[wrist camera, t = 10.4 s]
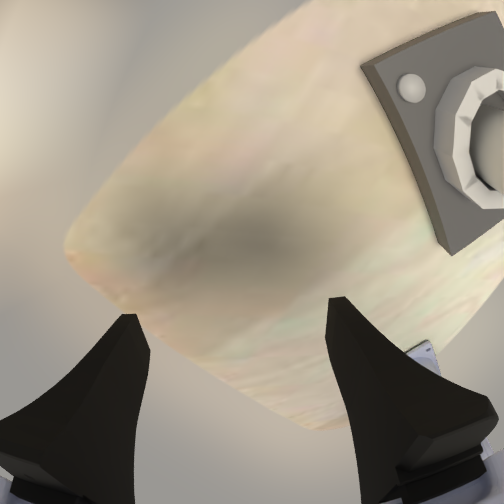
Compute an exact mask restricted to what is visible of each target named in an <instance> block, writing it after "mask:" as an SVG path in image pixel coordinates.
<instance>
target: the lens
mask: <svg viewBox="0 0 504 504" xmlns="http://www.w3.org/2000/svg"><path fill="white" fill-rule="evenodd" d="M469 154H470V158H471V161H472V164H473V168H474V172H475V175H476V177H478V178H479V179H481V180H482V181H484V182H485V183H487V184H489V185H490V186H492V187H493V188H494V189H496V190H497V191H499V192H500V193H502V194H503V195H504V111H503V110H500V109H497V108H494V107H491V106H486V105H483V106H479V108H478V110H477V112H476V114H475V116H474V118H473V120H472V122H471V134H470V145H469Z"/></svg>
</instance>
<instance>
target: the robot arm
mask: <svg viewBox="0 0 504 504" xmlns="http://www.w3.org/2000/svg"><path fill="white" fill-rule="evenodd" d="M325 340H326V344H327V349H328V354H329V358H330V362H331V365H332V368H333V371H334V374H335V377H336V380H337V383H338V386H339V389H340V392H341V394H342V397H343V400H344V403H345V406H346V410H347V413H348V417H349V421H350V426H351V431H352V436H353V441H354V447H355V453H356V460H357V467H358V474H359V482H360V492H361V503H362V504H504V448H503V449H502V450H500V451H498V452H496V453H494V452H493V449H492V447H491V445H490V443H489V441H488V439H487V436H488V435H489V434H490V432H491V431H492V430H493V429H494V428H495V426H496V425H497V422H498V420H499V418H498V415H497V413H496V411H495V409H494V407H493V405H492V404H491V402H490V400H489V399H488V397H487V396H484V395H482V394H479V393H476V392H474V391H471V390H468V389H466V388H463V387H461V386H459V385H457V384H455V383H452V382H451V381H448V380H447V379H444V378H443V377H441V373H440V370H439V366H438V363H437V360H436V357H435V353H434V350H433V347H432V344H431V342H430V341H426V342H424V343H423V344H421V345H419V346H418V347H416V348H414V349H413V350H411V351H409V352H407V353H406V354H405V353H404V352H403V351H401V350H400V349H399V348H398V347H396V346H395V345H394V344H393V343H392V342H391V341H389V340H388V339H387V338H386V337H385V336H384V335H383V334H382V333H381V332H379V331H378V330H377V329H376V328H375V327H374V326H373V325H372V324H371V323H370V322H369V321H368V320H367V319H366V318H365V317H364V316H363V315H362V314H361V313H360V312H359V311H358V310H357V309H356V308H355V306H354V305H353V304H352V303H351V302H350V301H349V300H348V299H347V298H346V297H345V296H344V297H336V298H329V302H328V313H327V324H326V334H325ZM149 361H150V348H149V346H148V343H147V341H146V338H145V336H144V333H143V331H142V328H141V325H140V323H139V320H138V317H137V315H136V314H122V315H121V316H120V317H119V318H118V319H117V320H116V321H115V322H114V324H113V325H112V326H111V327H110V328H109V329H108V331H107V332H106V333H105V334H104V335H103V336H102V338H101V339H100V340H99V341H98V342H97V343H96V344H95V346H94V347H93V348H92V349H91V350H90V351H89V352H88V353H87V354H86V356H85V357H84V358H83V359H82V360H81V361H80V362H79V363H78V364H77V365H76V366H75V367H74V368H73V369H72V370H71V371H70V372H69V373H68V374H67V375H66V376H65V377H64V378H63V379H61V380H60V381H59V382H58V383H57V384H56V385H55V386H53V387H52V388H51V389H49V390H48V391H47V392H46V393H44V394H43V395H42V396H40V397H39V398H38V399H36V400H35V401H33V402H32V403H30V404H29V405H27V406H26V407H24V408H22V409H21V410H19V411H17V412H16V413H14V414H12V415H10V416H8V417H6V418H4V419H2V420H0V466H1V467H2V468H4V469H5V470H6V471H8V472H9V473H10V474H11V475H13V476H14V478H13V481H12V482H11V481H10V480H8V479H6V478H4V477H1V476H0V504H135V496H134V449H135V435H136V427H137V421H138V416H139V411H140V407H141V403H142V398H143V394H144V390H145V385H146V381H147V376H148V371H149V370H148V369H149Z"/></svg>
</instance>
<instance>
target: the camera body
mask: <svg viewBox="0 0 504 504" xmlns="http://www.w3.org/2000/svg"><path fill="white" fill-rule="evenodd" d="M361 68H362V70H363V71H364V73H365V75H366V77H367V78H368V80H369V82H370V84H371V86H372V87H373V89H374V91H375V93H376V95H377V97H378V98H379V100H380V102H381V104H382V106H383V108H384V110H385V112H386V114H387V116H388V118H389V120H390V122H391V124H392V126H393V128H394V130H395V132H396V135H397V137H398V139H399V141H400V143H401V145H402V148H403V150H404V152H405V154H406V157H407V159H408V161H409V164H410V166H411V168H412V171H413V173H414V176H415V178H416V181H417V183H418V186H419V188H420V191H421V194H422V196H423V199H424V202H425V204H426V207H427V210H428V213H429V216H430V219H431V221H432V224H433V227H434V230H435V234H436V237H437V240H438V243H439V244H440V245H441V246H442V247H443V248H444V249H445V250H446V251H447V252H448V253H449V254H450V255H451V256H453V255H454V254H456V253H457V252H459V251H460V250H462V249H463V248H465V247H466V246H467V245H469V244H470V243H472V242H473V241H474V240H476V239H477V238H478V237H480V236H481V235H483V234H484V233H485V232H487V231H488V230H489V229H491V228H492V227H493V226H495V225H496V224H497V223H499V222H500V221H501V220H502V219H504V195H503V194H502V193H500V192H499V191H497V190H496V189H494V188H493V187H492V186H490V185H489V184H487V183H485V182H484V181H482V180H481V179H479V178H478V177H476V175H475V172H474V168H473V164H472V161H471V158H470V154H469V145H470V134H471V122H472V120H473V118H474V116H475V114H476V112H477V110H478V108H479V106H483V105H486V106H491V107H494V108H497V109H500V110H503V111H504V28H503V26H502V24H501V22H500V19H499V17H498V15H497V13H496V11H491V12H480V13H476V14H473V15H470V16H468V17H465V18H463V19H460V20H457V21H455V22H452V23H450V24H448V25H445V26H443V27H440V28H438V29H436V30H433V31H431V32H429V33H427V34H424V35H422V36H420V37H418V38H415V39H413V40H411V41H409V42H407V43H405V44H403V45H400V46H398V47H396V48H394V49H392V50H390V51H388V52H386V53H384V54H382V55H380V56H378V57H376V58H374V59H372V60H370V61H368V62H366V63H364V64H362V65H361Z"/></svg>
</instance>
